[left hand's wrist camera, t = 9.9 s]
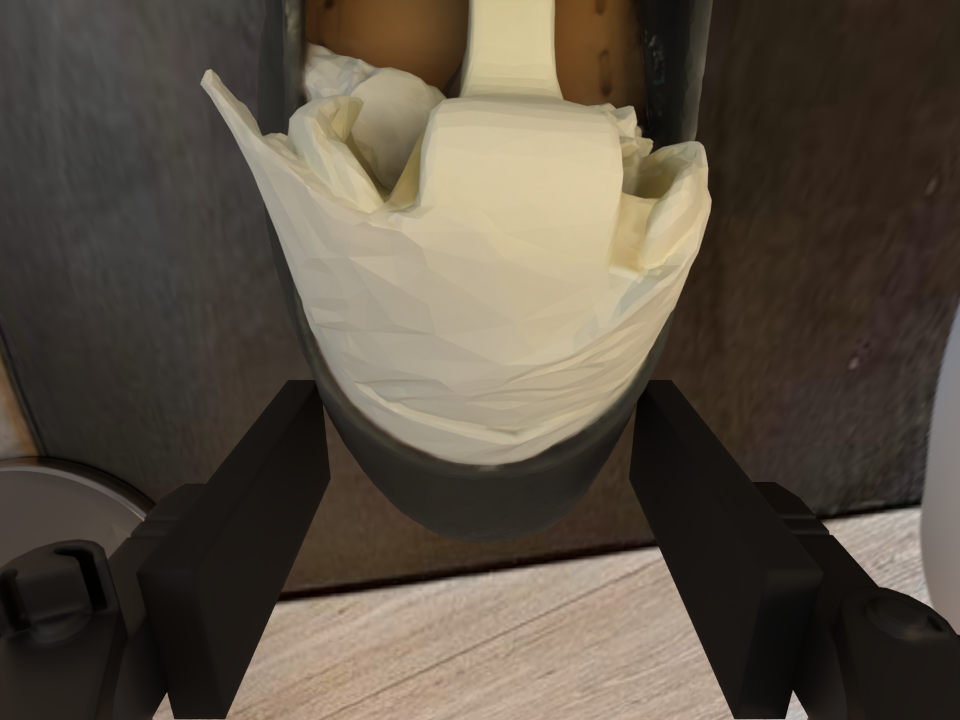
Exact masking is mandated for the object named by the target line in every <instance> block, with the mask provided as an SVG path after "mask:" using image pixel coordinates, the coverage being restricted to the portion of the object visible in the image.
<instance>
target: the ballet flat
mask: <svg viewBox="0 0 960 720" xmlns="http://www.w3.org/2000/svg"><path fill="white" fill-rule="evenodd" d="M265 2H266V12H267V16H266V20H265V23H264V27H263V31H262V35H261V43H260V50H259V67H258V124H257V122H256V120H255V119H254V117H253V116H252V114H251V113H250V111H249V110H248V108H247V106H246V105H244V104H243V103H242V102H240V101H238V100H237V99H236V98H235V97H234V96H233V94H232V93H231V92H230V91H229V90H228V89H227V88H226V87H225V86H224V84H223V83H222V82H221V80H220V78H219V76H218V75H217V74H216V73H214V72H213V71H212V70H211V69H210V70H207V71H206V72H205V74H204V77H203V79H202V81H201V85H202V87H203V88H204V89H205V90H206V92H207V93H208V94H209V95H210V97H211V99H212V100H213V102H214V103H215V105H216V107H217V108H218V110H219V112H220V113H221V115H222V117H223V118H224V120H225V122H226V123H227V125H228V126H229V128H230V130H231V131H232V133H233V135H234V137H235V139H236V141H237V143H238V145H239V147H240V149H241V151H242V153H243V155H244V157H245V159H246V161H247V163H248V165H249V167H250V169H251V171H252V173H253V175H254V178H255V180H256V182H257V185H258V187H259V190H260V192H261V195H262V197H263V201H264V207H265V214H266V220H267V226H268V231H269V236H270V241H271V245H272V250H273V254H274V259H275V263H276V267H277V272H278V275H279V279H280V282H281V286H282V289H283V293H284V296H285V300H286V303H287V307H288V310H289V314H290V317H291V321H292V324H293V326H294V329H295V332H296V335H297V337H298V340H299V343H300V345H301V348H302V351H303V353H304V356H305V358H306V360H307V362H308V365H309V367H310V369H311V371H312V374H313V377H314V379H315V382H316V384H317V388H318V392H319V395H320V398H321V400H322V402H323V404H324V406H325V409H326V411H327V413H328V415H329V417H330V419H331V421H332V422H333V424H334V426H335V428H336V429H337V431H338V433H339V435H340V436H341V438H342V440H343V442H344V444H345V445H346V447H347V448H348V449H349V451H350V452H351V454H352V455H353V456H354V458H355V459H356V461H357V462H358V464H359V465H360V466H361V468H362V469H363V471H364V472H365V473H366V475H367V476H368V477H369V478H370V480H371V481H372V482H373V483H374V485H375V486H376V487H377V488H378V489H379V490H380V491H381V492H382V493H383V494H384V495H385V496H386V497H387V499H388V500H389V501H390V502H391V503H392V504H393V505H394V506H396V507H397V508H398V509H399V510H400V511H401V512H402V513H404V514H405V515H407V516H408V517H410V518H411V519H413V520H414V521H416V522H418V523H420V524H421V525H423V526H424V527H426V528H427V529H429V530H431V531H432V532H435V533H437V534H439V535H441V536H444V537H447V538H452V539H456V540H461V541H467V542H484V543H489V542H501V541H508V540H513V539H517V538H523V537H527V536H530V535H533V534H537V533H540V532H543V531H545V530H546V529H548V528H550V527H551V526H553V525H555V524H556V523H558V522H559V521H560V520H562V519H563V518H565V517H566V516H567V515H568V514H569V513H570V511H571V510H572V509H573V508H574V507H575V506H576V505H577V504H578V502H579V501H580V499H581V498H582V497H583V496H584V494H585V493H586V492H587V491H588V489H589V487H590V485H591V484H592V483H593V481H594V480H595V478H596V476H597V475H598V473H599V472H600V470H601V468H602V467H603V465H604V464H605V462H606V461H607V459H608V457H609V456H610V454H611V452H612V450H613V448H614V447H615V445H616V443H617V442H618V440H619V437H620V436H621V434H622V432H623V430H624V428H625V426H626V425H627V423H628V421H629V420H630V417H631V415H632V412H633V410H634V407H635V404H636V402H637V400H638V399H639V397H640V396H641V394H642V393H643V391H644V389H645V388H646V386H647V384H648V382H649V380H650V378H651V375H652V373H653V371H654V369H655V367H656V365H657V363H658V360H659V358H660V356H661V354H662V351H663V349H664V347H665V344H666V341H667V337H668V334H669V330H670V327H671V323H672V320H673V317H674V312H675V307H676V303H677V300H678V298H679V295H680V293H681V290H682V288H683V285H684V283H685V280H686V278H687V275H688V272H689V270H690V267H691V265H692V263H693V261H694V259H695V258H696V256H697V254H698V252H699V248H700V245H701V241H702V238H703V235H704V231H705V228H706V224H707V221H708V218H709V214H710V210H711V201H712V200H711V197H710V194H709V191H708V188H707V183H708V165H707V159H706V153H705V149H704V146H703V145H702V144H701V143H699V142H694V141H695V136H696V131H697V123H698V110H699V102H700V96H701V90H702V78H703V75H704V69H705V60H706V51H707V42H708V34H709V26H710V18H711V10H712V2H713V0H265Z"/></svg>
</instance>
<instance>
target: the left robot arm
mask: <svg viewBox="0 0 960 720" xmlns="http://www.w3.org/2000/svg"><path fill="white" fill-rule="evenodd" d="M330 479H331V478H330V468H329V459H328V450H327V440H326V431H325V422H324V412H323V403H322V400H321V398H320V395H319V392H318V388H317V384H316V382H315V380H288V381H287V382H286V384H285V385H284V386H283V388H282V389H281V390H280V391H279V393H278V394H277V395H276V396H275V398H274V399H273V400H272V401H271V403H270V404H269V405H268V406H267V408H266V409H265V410H264V411H263V413H262V414H261V415H260V417H259V418H258V419H257V420H256V422H255V423H254V424H253V425H252V427H251V428H250V429H249V430H248V432H247V433H246V434H245V435H244V437H243V438H242V439H241V441H240V442H239V443H238V444H237V446H236V447H235V448H234V449H233V451H232V452H231V453H230V454H229V456H228V457H227V458H226V459H225V461H224V462H223V463H222V464H221V466H220V467H219V468H218V470H217V471H216V472H215V473H214V475H213V476H212V477H211V478H210V480H209V481H208V482H207V483H206V484H184V485H183V486H181V487H180V488H178V489H177V490H175V491H173V492H172V493H170V494H169V495H167V496H166V497H164V498H162V499H161V500H160V501H159V502H158V503H157V504H156V505H154V504H153V503H152V502H151V501H149V500H148V499H147V498H146V497H144V496H143V495H142V494H140V493H139V492H138V491H136V490H135V489H133V488H132V487H130V486H128V485H127V484H125V483H123V482H122V481H120V480H118V479H116V478H114V477H112V476H110V475H108V474H106V473H103V472H101V471H98V470H96V469H93V468H90V467H87V466H84V465H81V464H77V463H73V462H69V461H65V460H59V459H52V458H40V457H25V458H14V459H8V460H2V461H0V720H153V719H152V718H153V716H154V714H155V712H156V710H157V709H158V707H159V705H160V703H161V702H162V700H163V698H164V696H165V695H166V693H168V697H169V701H170V704H171V708H172V712H173V716H174V719H225V718H226V716H227V714H228V711H229V709H230V707H231V705H232V702H233V700H234V698H235V695H236V693H237V691H238V689H239V686H240V684H241V682H242V679H243V677H244V675H245V673H246V670H247V668H248V666H249V664H250V661H251V659H252V657H253V654H254V652H255V650H256V648H257V645H258V643H259V641H260V638H261V636H262V634H263V632H264V629H265V627H266V625H267V622H268V620H269V618H270V616H271V613H272V611H273V609H274V606H275V604H276V602H277V600H278V597H279V595H280V593H281V591H282V588H283V586H284V584H285V581H286V579H287V577H288V575H289V572H290V570H291V568H292V565H293V563H294V561H295V559H296V556H297V554H298V552H299V549H300V547H301V545H302V543H303V540H304V538H305V536H306V534H307V531H308V529H309V527H310V524H311V522H312V520H313V518H314V515H315V513H316V511H317V508H318V506H319V504H320V502H321V499H322V497H323V495H324V492H325V490H326V488H327V486H328V483H329V481H330ZM629 480H630V482H631V484H632V487H633V489H634V491H635V493H636V496H637V498H638V500H639V503H640V505H641V507H642V509H643V512H644V514H645V516H646V518H647V521H648V523H649V525H650V528H651V530H652V532H653V534H654V537H655V539H656V541H657V544H658V546H659V548H660V550H661V553H662V555H663V557H664V560H665V562H666V564H667V566H668V569H669V571H670V573H671V576H672V578H673V580H674V582H675V585H676V587H677V589H678V591H679V594H680V596H681V598H682V601H683V603H684V605H685V607H686V610H687V612H688V614H689V617H690V619H691V621H692V623H693V626H694V628H695V630H696V633H697V635H698V637H699V639H700V642H701V644H702V646H703V649H704V651H705V653H706V655H707V658H708V660H709V662H710V664H711V667H712V669H713V671H714V674H715V676H716V678H717V680H718V683H719V685H720V687H721V690H722V692H723V694H724V696H725V699H726V701H727V703H728V706H729V708H730V710H731V712H732V715H733V717H734V719H785V718H786V714H787V710H788V706H789V703H790V699H791V695H792V691H794V692H795V694H796V696H797V698H798V699H799V701H800V703H801V705H802V706H803V708H804V710H805V712H806V713H807V715H808V719H807V720H960V635H957V634H956V633H955V631H954V630H953V628H952V627H951V626H950V624H949V623H948V621H947V620H945V619H944V618H943V617H942V616H940V615H939V614H938V613H937V612H936V611H934V610H933V609H932V608H931V607H929V606H927V605H926V604H924V603H922V602H920V601H918V600H916V599H914V598H913V597H911V596H909V595H906V594H903V593H900V592H897V591H894V590H891V589H888V588H882V587H878V585H877V584H876V583H875V582H874V581H873V580H872V579H871V578H870V576H869V575H868V574H867V573H866V572H865V571H864V570H863V569H862V567H861V566H860V565H859V564H858V563H857V562H856V561H855V560H854V558H853V557H852V556H851V555H850V554H849V553H848V552H847V551H846V549H845V548H844V547H843V546H842V545H841V544H840V543H839V542H838V540H837V539H836V538H835V537H834V536H833V535H830V534H829V530H828V529H827V528H826V527H825V526H824V525H823V524H822V523H821V521H820V520H816V516H815V515H814V514H813V512H812V511H811V510H810V509H809V508H808V507H807V506H806V505H805V503H804V502H803V501H802V500H801V499H800V498H799V497H798V496H796V495H794V494H793V493H791V492H790V491H788V490H786V489H785V488H783V487H782V486H780V485H779V484H777V483H775V482H752V481H751V480H750V479H749V478H748V476H747V475H746V474H745V473H744V471H743V470H742V469H741V468H740V466H739V465H738V464H737V463H736V461H735V460H734V459H733V457H732V456H731V455H730V454H729V452H728V451H727V450H726V449H725V447H724V446H723V445H722V444H721V442H720V441H719V440H718V439H717V437H716V436H715V435H714V434H713V432H712V431H711V430H710V428H709V427H708V426H707V425H706V423H705V422H704V421H703V420H702V418H701V417H700V416H699V415H698V413H697V412H696V411H695V410H694V408H693V407H692V406H691V404H690V403H689V402H688V401H687V399H686V398H685V397H684V396H683V394H682V393H681V392H680V391H679V389H678V388H677V387H676V386H675V384H674V383H673V382H672V381H671V380H649V382H648V384H647V386H646V388H645V389H644V391H643V393H642V394H641V396H640V397H639V399H638V400H637V408H636V418H635V427H634V436H633V446H632V455H631V464H630V474H629Z"/></svg>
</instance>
